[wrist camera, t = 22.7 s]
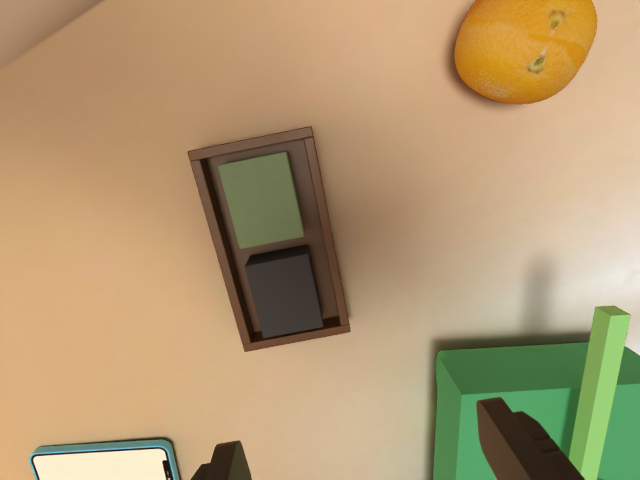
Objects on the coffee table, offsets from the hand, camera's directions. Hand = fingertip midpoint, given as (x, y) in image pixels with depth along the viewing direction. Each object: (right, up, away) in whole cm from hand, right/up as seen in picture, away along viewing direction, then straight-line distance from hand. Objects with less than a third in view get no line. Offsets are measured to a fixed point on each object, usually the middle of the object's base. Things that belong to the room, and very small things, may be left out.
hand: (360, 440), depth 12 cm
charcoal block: (-4, +2, +22) cm, 23 cm away
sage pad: (-6, +11, +20) cm, 23 cm away
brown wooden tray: (-5, +7, +22) cm, 23 cm away
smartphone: (-25, -19, +28) cm, 42 cm away
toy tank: (+19, -12, +28) cm, 36 cm away
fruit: (+13, +22, +18) cm, 31 cm away
